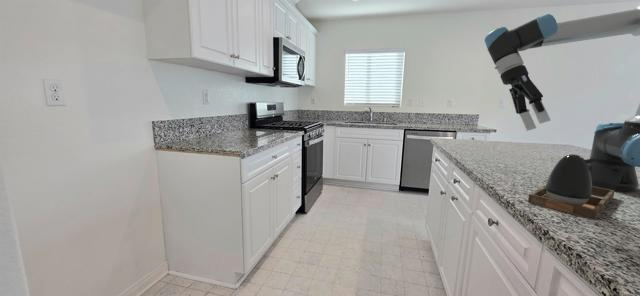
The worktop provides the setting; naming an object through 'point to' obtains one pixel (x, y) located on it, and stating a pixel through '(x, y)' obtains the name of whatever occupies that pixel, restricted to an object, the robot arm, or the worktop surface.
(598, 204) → the rack
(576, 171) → the dark grey egg shape
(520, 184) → the worktop surface
